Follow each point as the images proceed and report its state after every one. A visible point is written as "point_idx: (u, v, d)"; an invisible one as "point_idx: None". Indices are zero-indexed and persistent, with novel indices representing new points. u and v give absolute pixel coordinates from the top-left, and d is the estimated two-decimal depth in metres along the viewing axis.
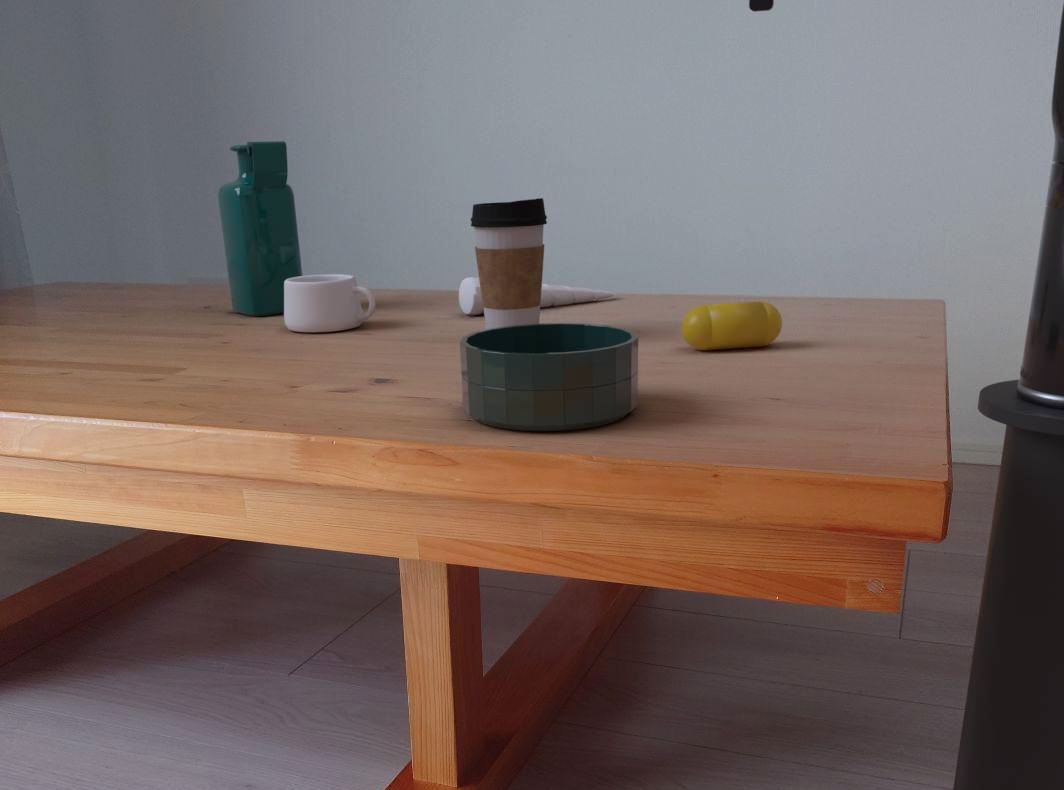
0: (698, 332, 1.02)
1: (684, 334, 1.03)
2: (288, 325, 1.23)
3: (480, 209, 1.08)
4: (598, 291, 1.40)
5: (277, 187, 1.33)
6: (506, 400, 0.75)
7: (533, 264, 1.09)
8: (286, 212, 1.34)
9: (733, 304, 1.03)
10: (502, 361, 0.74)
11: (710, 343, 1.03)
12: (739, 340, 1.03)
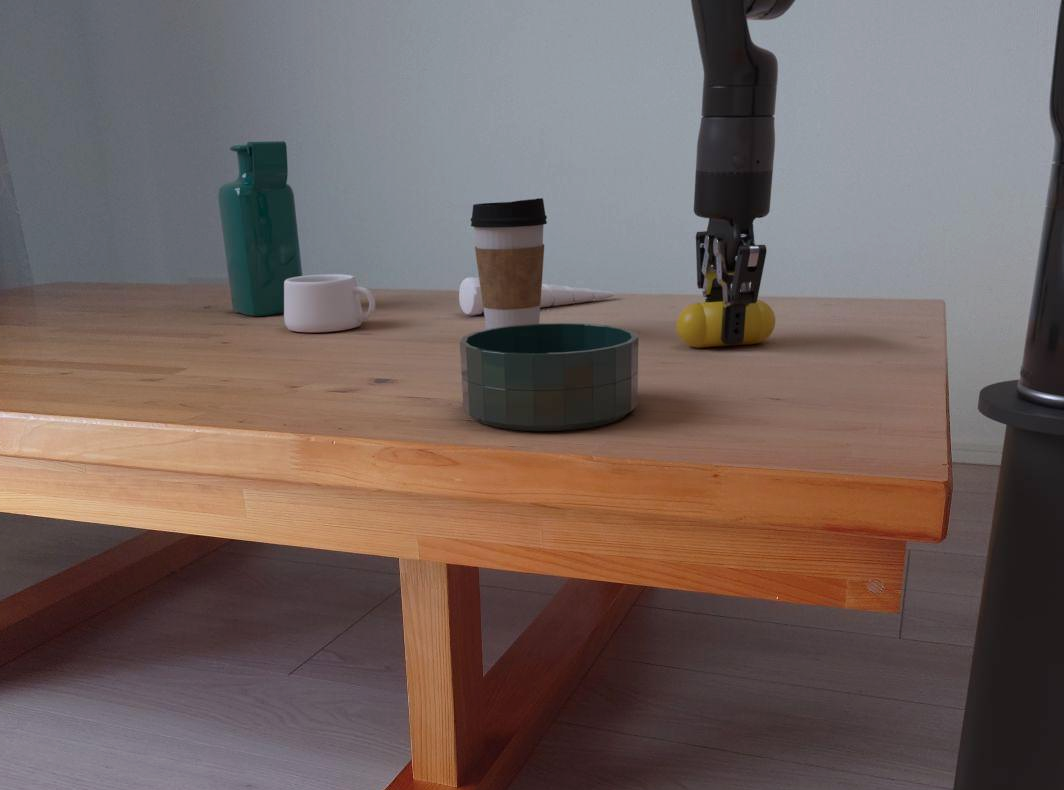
0: (692, 316, 1.03)
1: (680, 329, 1.05)
2: (288, 325, 1.23)
3: (480, 209, 1.08)
4: (598, 291, 1.40)
5: (277, 187, 1.33)
6: (506, 400, 0.75)
7: (532, 264, 1.09)
8: (286, 212, 1.34)
9: None
10: (502, 361, 0.74)
11: (706, 325, 1.03)
12: None
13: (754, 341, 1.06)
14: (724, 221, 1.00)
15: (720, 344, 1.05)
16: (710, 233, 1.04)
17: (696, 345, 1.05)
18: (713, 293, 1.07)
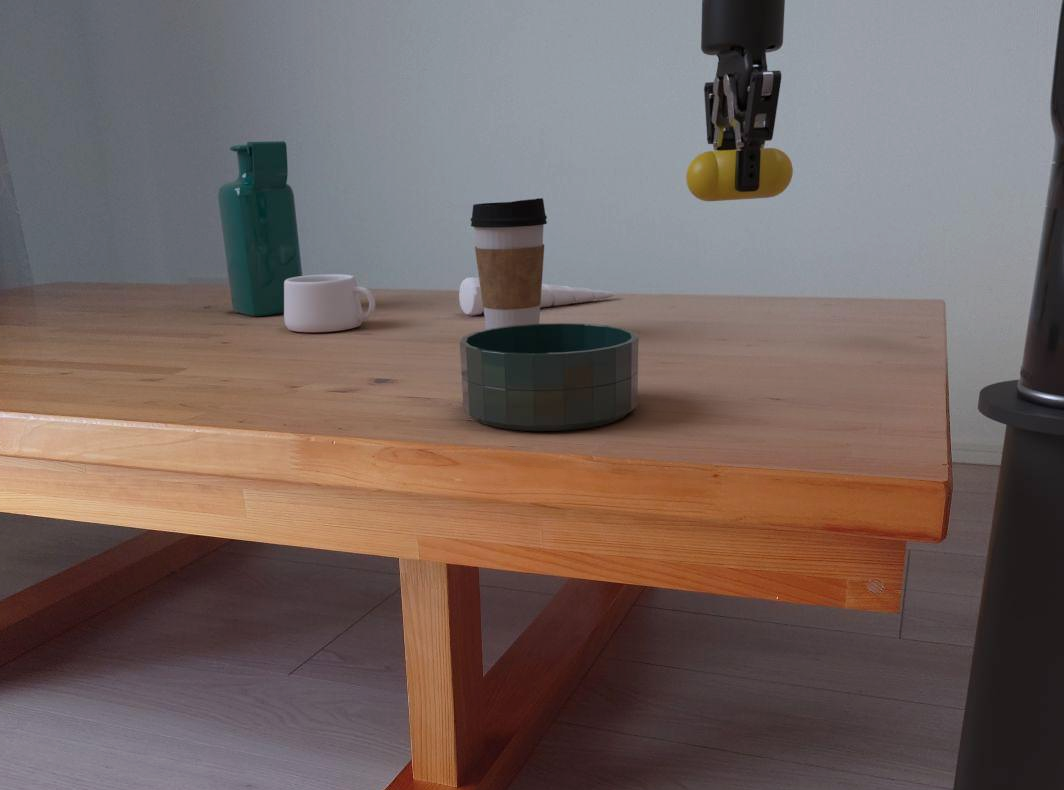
0: (702, 163, 0.96)
1: (690, 179, 0.97)
2: (288, 325, 1.23)
3: (480, 209, 1.08)
4: (598, 291, 1.40)
5: (277, 187, 1.33)
6: (506, 400, 0.75)
7: (532, 264, 1.09)
8: (286, 212, 1.34)
9: None
10: (502, 361, 0.74)
11: (718, 172, 0.96)
12: None
13: (770, 192, 0.98)
14: (734, 55, 0.93)
15: (734, 195, 0.98)
16: None
17: (708, 196, 0.97)
18: (725, 145, 1.00)
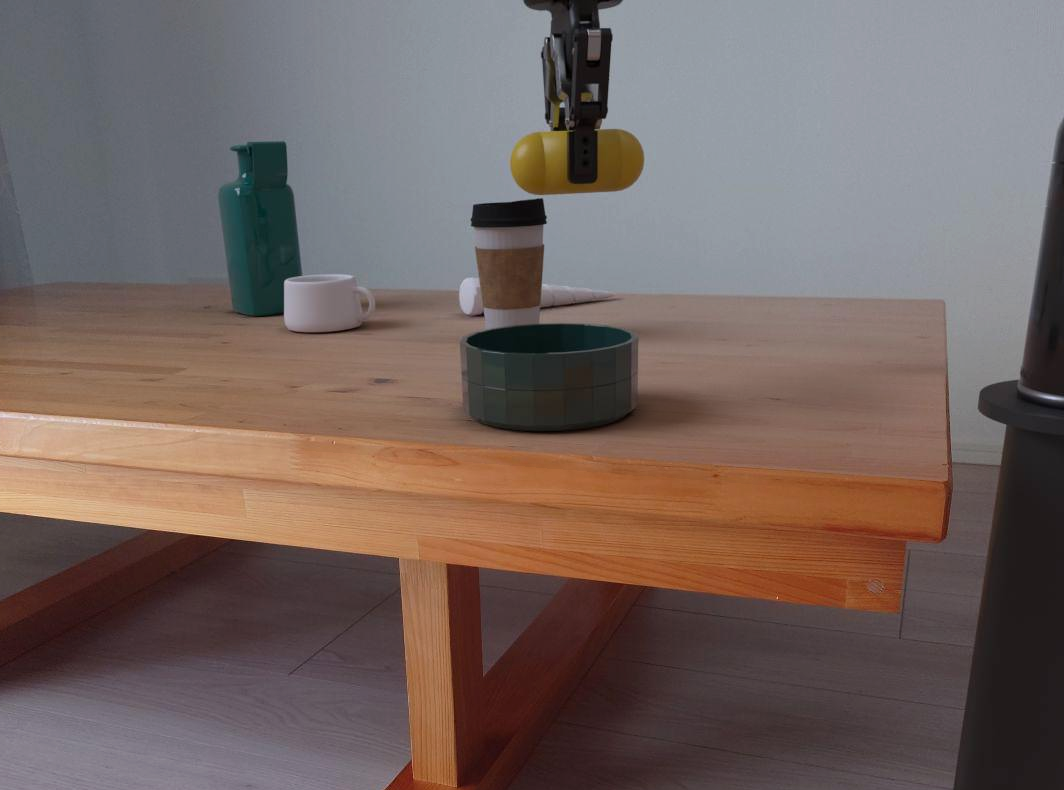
0: (526, 146, 0.76)
1: (512, 167, 0.77)
2: (288, 325, 1.23)
3: (480, 209, 1.08)
4: (598, 291, 1.40)
5: (277, 187, 1.33)
6: (506, 400, 0.75)
7: (532, 264, 1.09)
8: (286, 212, 1.34)
9: None
10: (502, 361, 0.74)
11: (545, 158, 0.76)
12: None
13: (615, 184, 0.78)
14: (561, 9, 0.73)
15: (569, 188, 0.78)
16: None
17: (535, 189, 0.77)
18: (562, 125, 0.80)
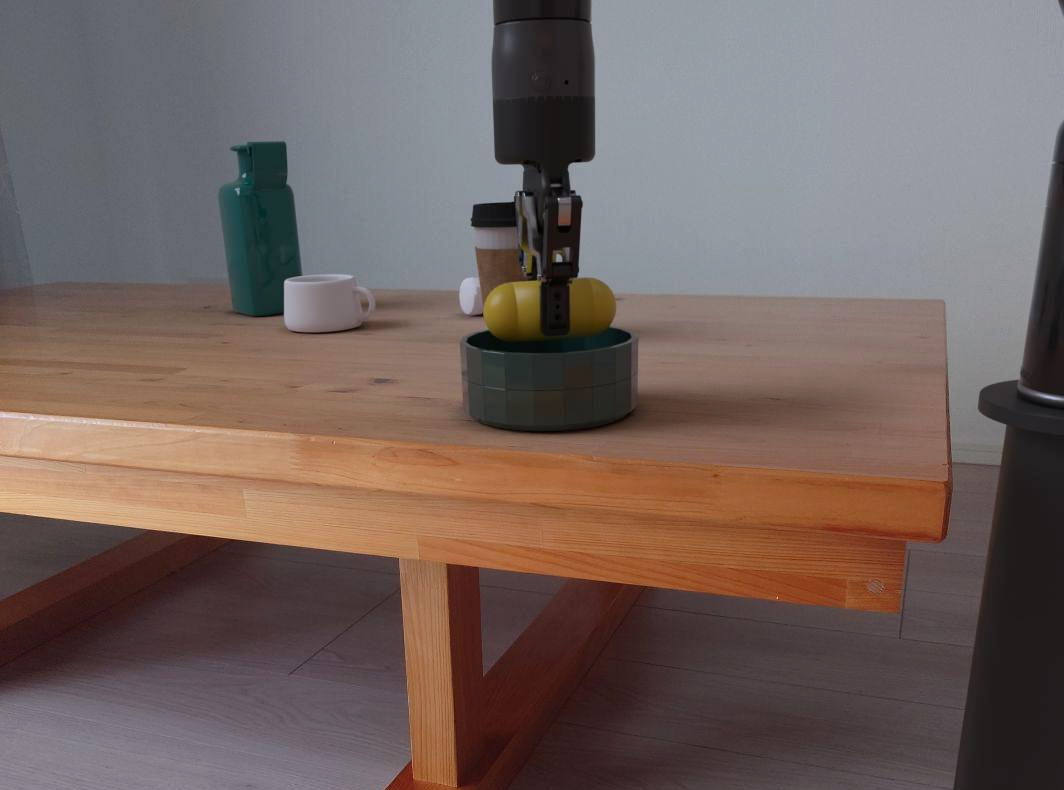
0: (499, 299, 0.77)
1: (485, 317, 0.78)
2: (288, 325, 1.23)
3: (480, 209, 1.08)
4: None
5: (277, 187, 1.33)
6: (506, 400, 0.75)
7: None
8: (286, 212, 1.34)
9: None
10: (502, 361, 0.74)
11: (517, 311, 0.76)
12: None
13: (588, 332, 0.79)
14: (533, 168, 0.74)
15: (541, 337, 0.78)
16: (525, 190, 0.78)
17: (508, 338, 0.78)
18: (535, 271, 0.80)
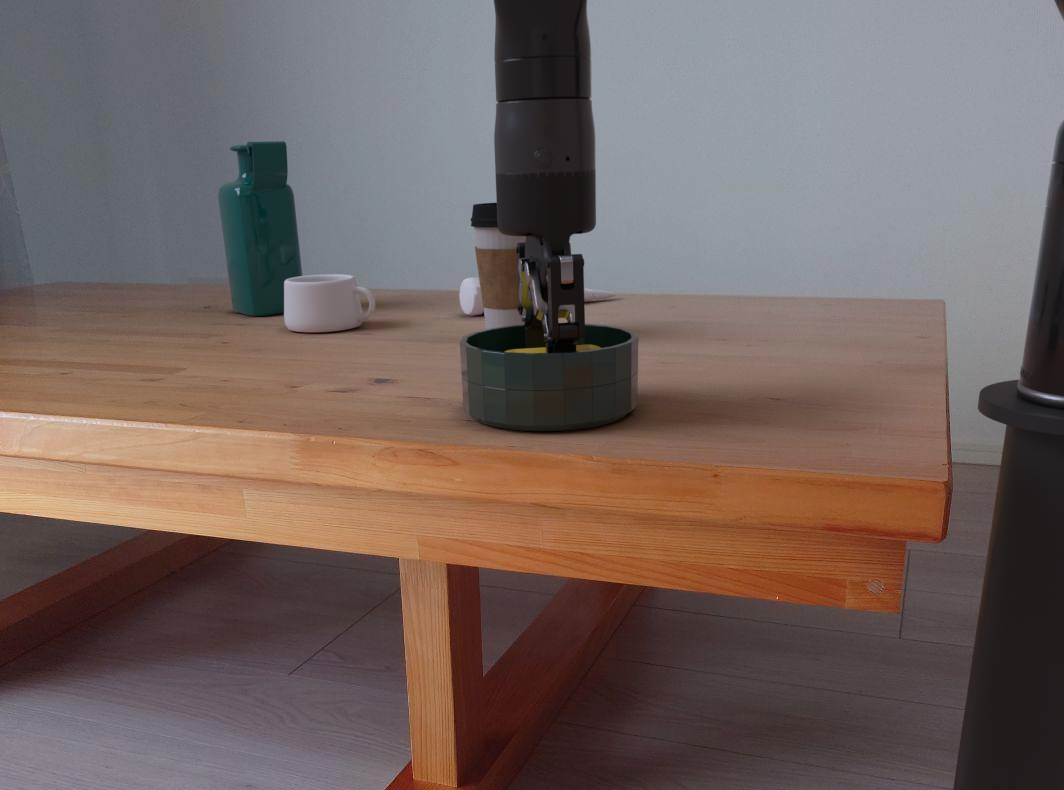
0: None
1: None
2: (288, 325, 1.23)
3: (480, 209, 1.08)
4: (599, 291, 1.40)
5: (277, 187, 1.33)
6: (506, 400, 0.75)
7: None
8: (286, 212, 1.34)
9: None
10: (502, 361, 0.74)
11: None
12: None
13: None
14: (535, 239, 0.76)
15: None
16: (527, 256, 0.80)
17: None
18: (534, 323, 0.83)
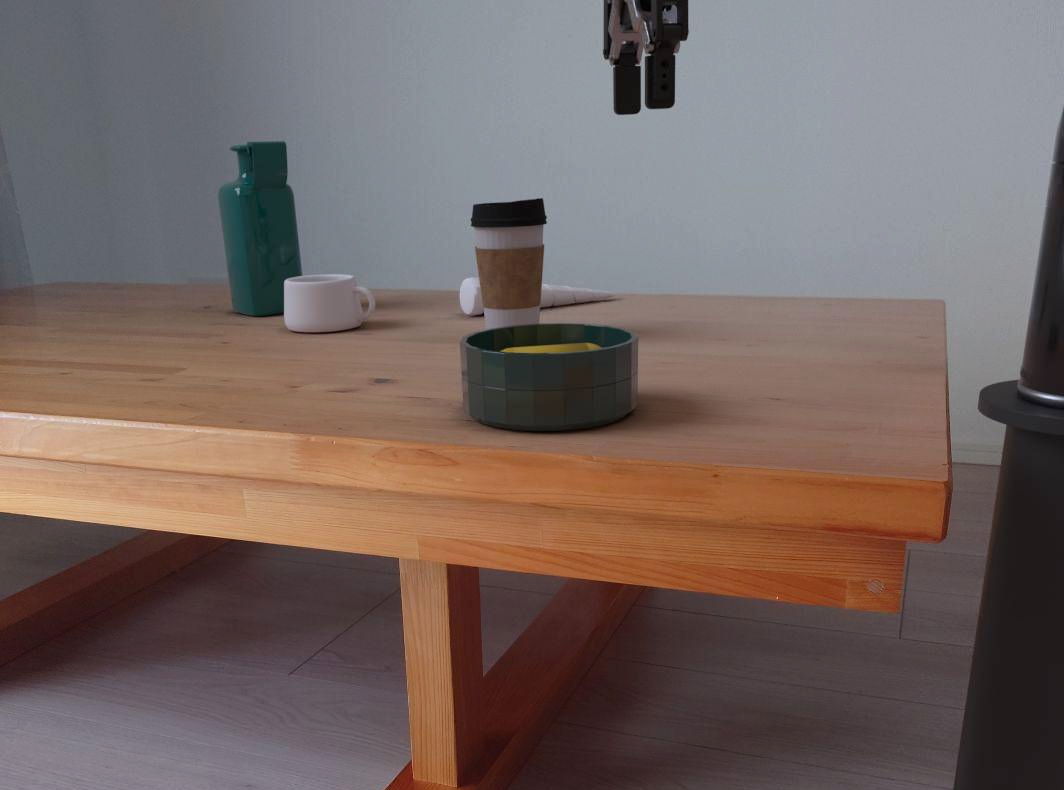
0: None
1: None
2: (288, 325, 1.23)
3: (480, 209, 1.08)
4: (599, 291, 1.40)
5: (277, 187, 1.33)
6: (506, 400, 0.75)
7: (532, 264, 1.09)
8: (286, 212, 1.34)
9: None
10: (502, 361, 0.74)
11: None
12: None
13: None
14: None
15: None
16: None
17: None
18: (622, 61, 0.84)
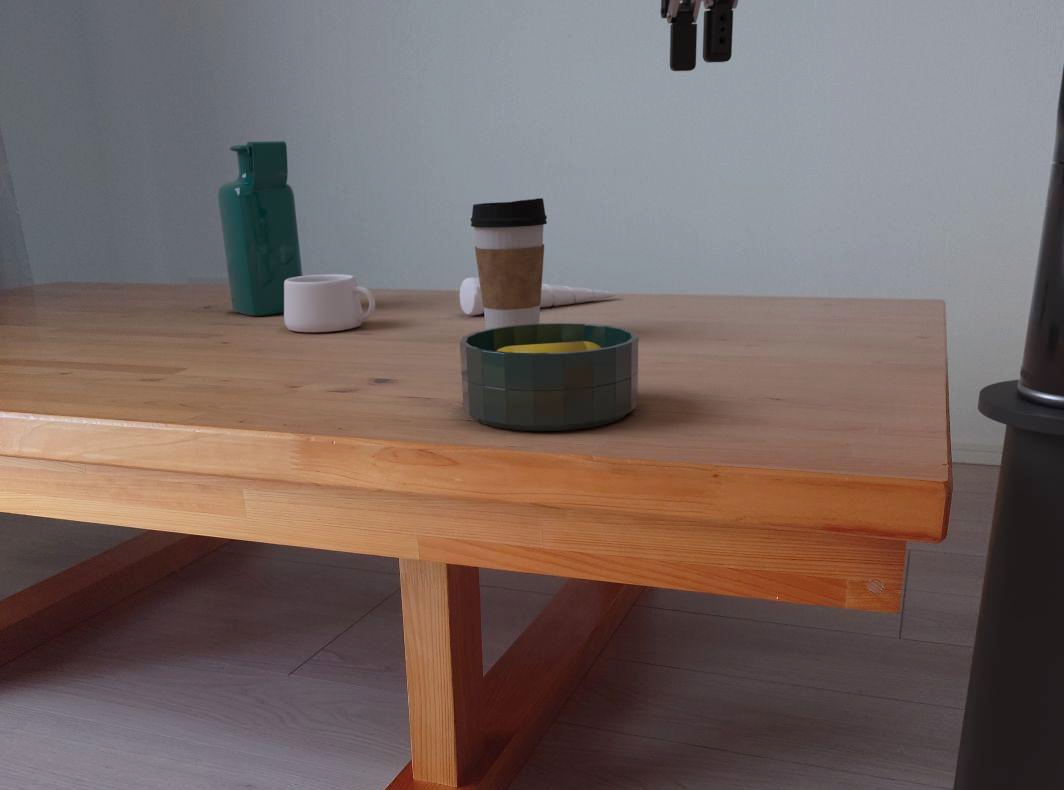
0: None
1: None
2: (288, 325, 1.23)
3: (480, 209, 1.08)
4: (599, 291, 1.40)
5: (277, 187, 1.33)
6: (506, 400, 0.75)
7: (532, 264, 1.09)
8: (286, 212, 1.34)
9: None
10: (502, 361, 0.74)
11: None
12: (552, 352, 0.81)
13: None
14: None
15: None
16: None
17: None
18: (679, 19, 0.88)
